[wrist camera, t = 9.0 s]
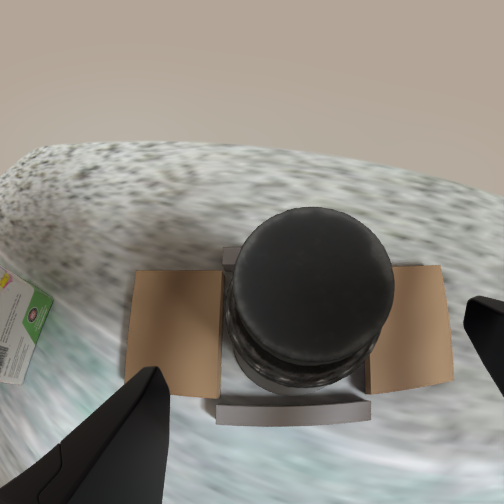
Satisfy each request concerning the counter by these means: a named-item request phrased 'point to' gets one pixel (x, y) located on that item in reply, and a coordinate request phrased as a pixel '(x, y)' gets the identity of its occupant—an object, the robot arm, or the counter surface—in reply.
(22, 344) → the ink box
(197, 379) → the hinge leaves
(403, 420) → the counter surface
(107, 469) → the robot arm
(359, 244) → the pill bottle
